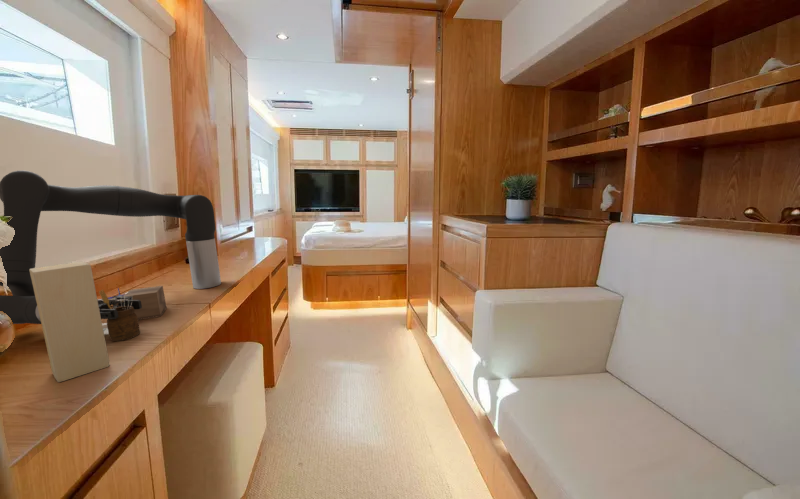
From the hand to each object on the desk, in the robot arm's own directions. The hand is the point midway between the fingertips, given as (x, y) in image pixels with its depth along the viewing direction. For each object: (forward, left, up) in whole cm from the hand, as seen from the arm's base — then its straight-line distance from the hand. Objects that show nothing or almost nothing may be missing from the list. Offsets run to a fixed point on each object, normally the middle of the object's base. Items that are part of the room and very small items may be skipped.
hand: (128, 309), depth 85 cm
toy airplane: (-31, -10, -7) cm, 34 cm away
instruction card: (-10, -9, -7) cm, 15 cm away
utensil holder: (-1, -2, -7) cm, 8 cm away
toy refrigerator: (+15, -5, -7) cm, 17 cm away
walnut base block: (-18, -1, -7) cm, 20 cm away
